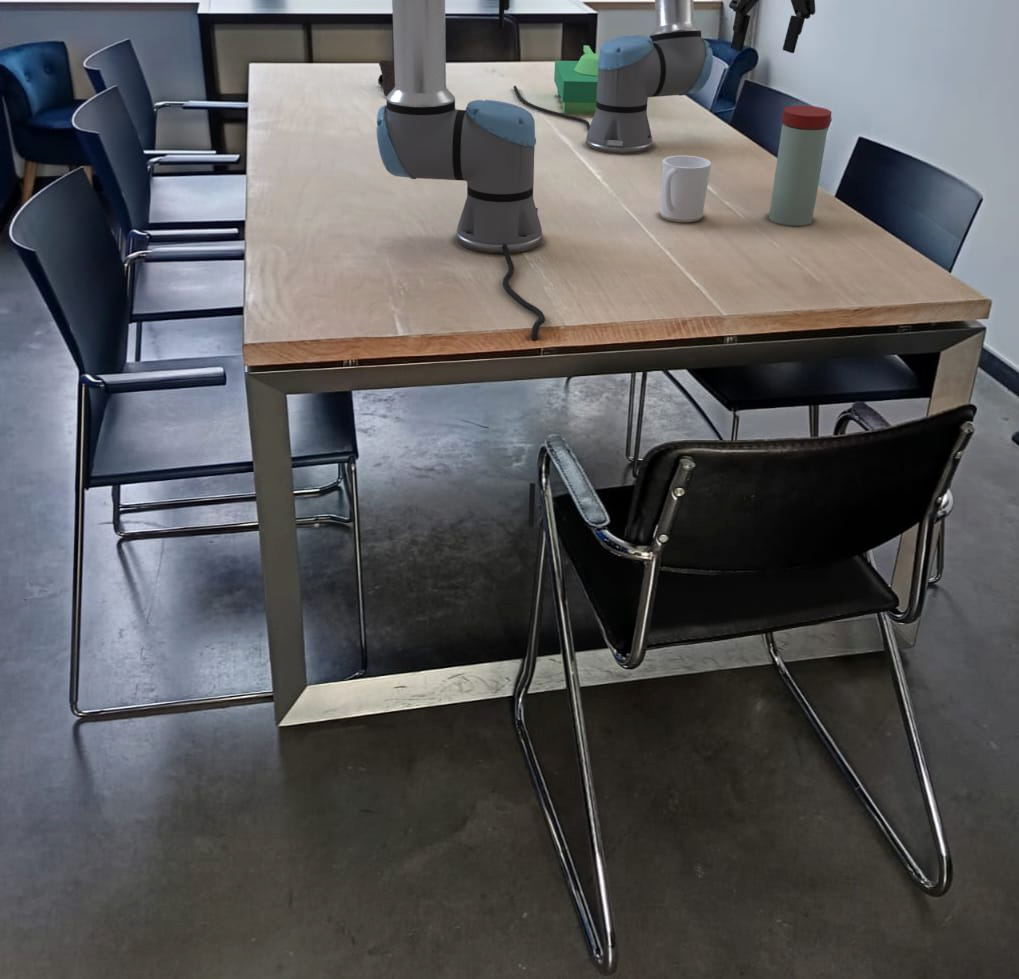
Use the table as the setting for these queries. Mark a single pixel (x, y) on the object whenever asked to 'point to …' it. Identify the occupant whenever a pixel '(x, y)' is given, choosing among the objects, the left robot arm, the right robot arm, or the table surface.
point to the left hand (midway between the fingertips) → (468, 26)
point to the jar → (797, 175)
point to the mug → (684, 188)
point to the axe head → (387, 76)
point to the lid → (806, 117)
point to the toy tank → (578, 83)
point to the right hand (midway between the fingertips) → (762, 50)
